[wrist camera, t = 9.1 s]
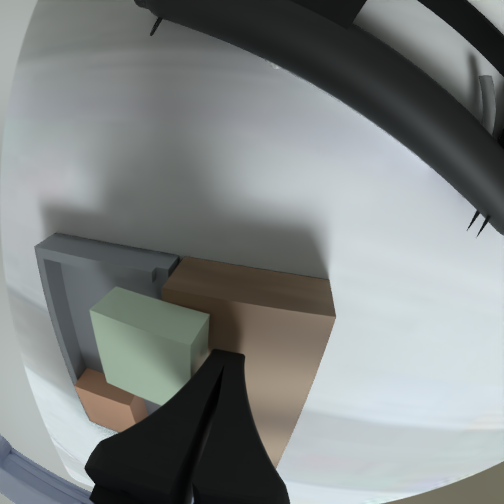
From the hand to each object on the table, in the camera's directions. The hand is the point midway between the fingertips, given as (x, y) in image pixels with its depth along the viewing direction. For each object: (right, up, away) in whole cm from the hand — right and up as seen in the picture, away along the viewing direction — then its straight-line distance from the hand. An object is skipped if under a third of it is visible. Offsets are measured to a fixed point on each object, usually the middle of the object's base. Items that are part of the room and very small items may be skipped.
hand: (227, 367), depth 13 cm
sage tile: (-3, +1, +1) cm, 3 cm away
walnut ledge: (0, -3, +5) cm, 6 cm away
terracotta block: (-9, -7, +5) cm, 13 cm away
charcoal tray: (-7, -2, +6) cm, 10 cm away
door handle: (+9, +16, -4) cm, 19 cm away
